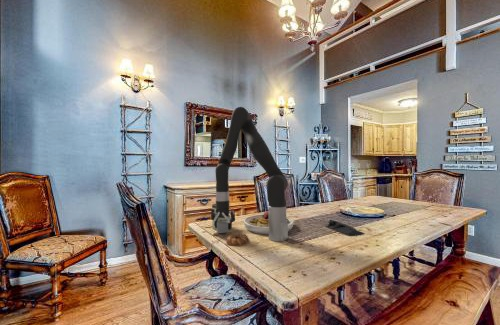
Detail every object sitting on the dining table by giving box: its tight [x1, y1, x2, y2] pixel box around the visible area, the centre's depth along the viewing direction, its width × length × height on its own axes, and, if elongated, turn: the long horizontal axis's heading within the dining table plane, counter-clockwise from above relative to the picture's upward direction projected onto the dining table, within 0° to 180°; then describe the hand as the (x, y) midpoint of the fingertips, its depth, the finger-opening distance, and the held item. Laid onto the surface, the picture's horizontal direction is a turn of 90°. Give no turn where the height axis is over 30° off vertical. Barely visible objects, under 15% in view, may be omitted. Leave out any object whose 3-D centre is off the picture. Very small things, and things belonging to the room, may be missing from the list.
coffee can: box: [211, 203, 228, 231], centre depth 139 cm, size 10×10×14 cm
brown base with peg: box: [212, 231, 232, 238], centre depth 126 cm, size 7×7×6 cm
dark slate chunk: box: [324, 219, 366, 237], centre depth 132 cm, size 15×22×5 cm
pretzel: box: [226, 232, 250, 247], centre depth 114 cm, size 12×11×4 cm
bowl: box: [243, 210, 294, 235], centre depth 138 cm, size 30×30×8 cm
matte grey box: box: [216, 221, 229, 233], centre depth 125 cm, size 6×6×5 cm
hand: (223, 228), depth 126 cm, fingers open, 8 cm apart
